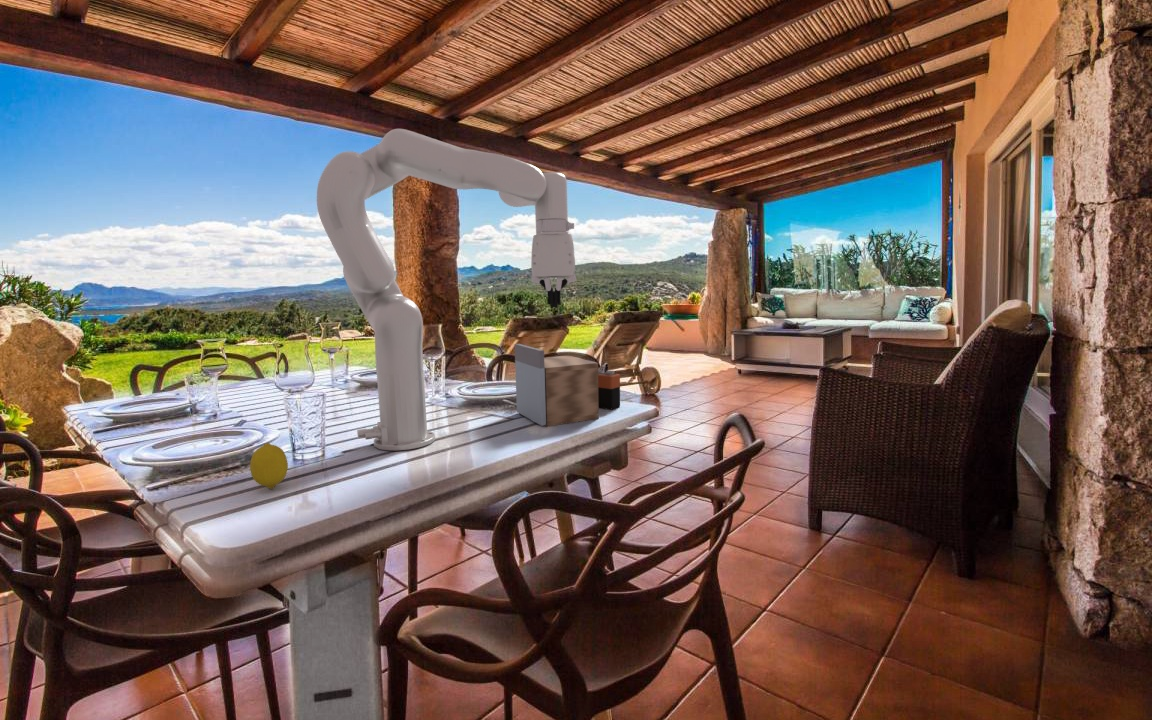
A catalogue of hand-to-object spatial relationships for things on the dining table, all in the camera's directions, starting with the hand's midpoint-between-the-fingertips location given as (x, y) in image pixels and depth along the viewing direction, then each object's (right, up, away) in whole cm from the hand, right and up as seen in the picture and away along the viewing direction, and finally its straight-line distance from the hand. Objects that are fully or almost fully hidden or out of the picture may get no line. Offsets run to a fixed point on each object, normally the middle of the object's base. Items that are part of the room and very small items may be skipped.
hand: (554, 307), depth 131 cm
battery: (+13, -25, +18) cm, 34 cm away
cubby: (+1, -27, +9) cm, 28 cm away
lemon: (-47, -35, -37) cm, 69 cm away
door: (-6, -27, +6) cm, 28 cm away
